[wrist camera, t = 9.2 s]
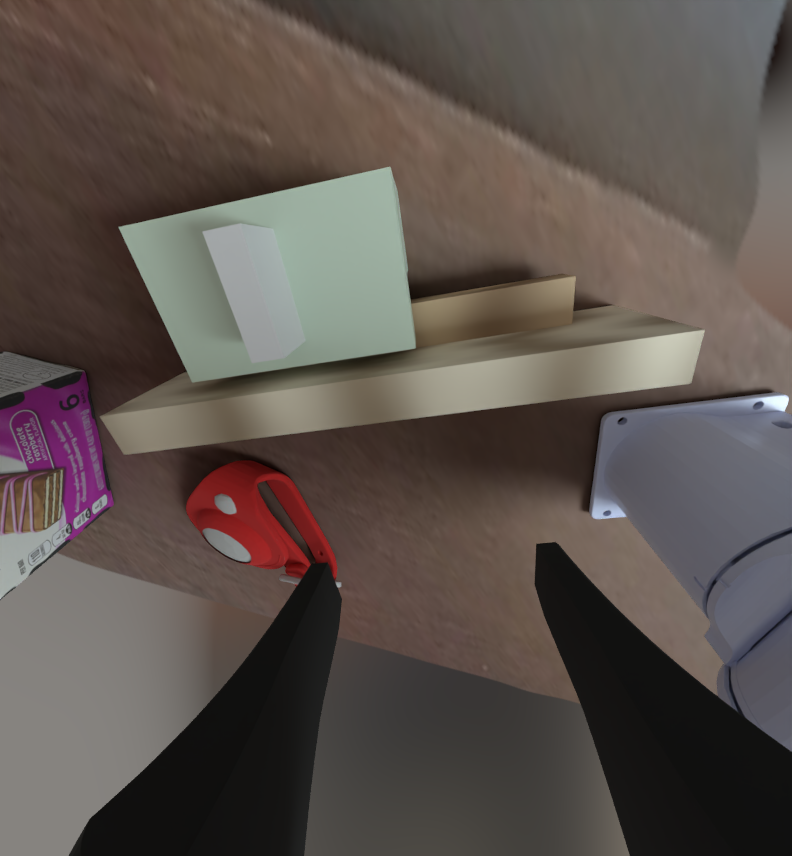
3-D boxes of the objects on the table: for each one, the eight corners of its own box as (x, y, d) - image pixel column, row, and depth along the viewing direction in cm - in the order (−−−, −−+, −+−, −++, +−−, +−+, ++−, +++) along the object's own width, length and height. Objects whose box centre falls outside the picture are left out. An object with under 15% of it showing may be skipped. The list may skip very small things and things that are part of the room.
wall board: (619, 261, 16) (721, 266, 11) (608, 344, 18) (691, 383, 12) (168, 338, 19) (71, 372, 14) (198, 402, 21) (124, 454, 15)
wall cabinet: (397, 191, 15) (383, 145, 9) (415, 324, 18) (415, 367, 11) (198, 233, 16) (51, 221, 10) (243, 352, 19) (153, 405, 13)
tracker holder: (187, 554, 26) (148, 475, 19) (227, 510, 29) (205, 429, 23) (326, 620, 25) (336, 559, 18) (352, 566, 28) (368, 497, 21)
